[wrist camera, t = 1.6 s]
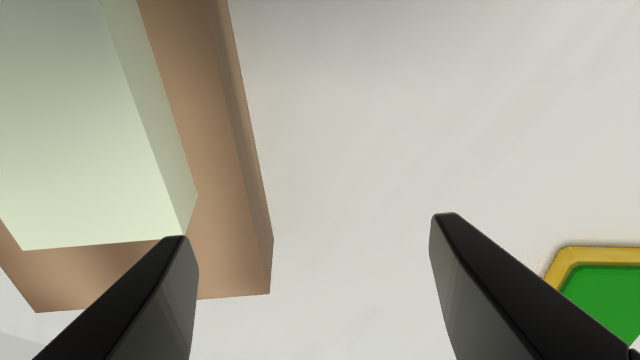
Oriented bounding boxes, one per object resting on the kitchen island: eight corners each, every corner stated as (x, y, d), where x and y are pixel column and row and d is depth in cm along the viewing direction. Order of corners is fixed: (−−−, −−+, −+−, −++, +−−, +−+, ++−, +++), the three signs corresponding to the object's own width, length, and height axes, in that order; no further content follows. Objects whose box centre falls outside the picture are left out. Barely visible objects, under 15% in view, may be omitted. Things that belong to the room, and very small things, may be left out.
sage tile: (120, -51, 12) (83, -38, 10) (198, 195, 17) (184, 237, 15) (-83, -31, 12) (-161, -14, 10) (55, 207, 17) (22, 250, 15)
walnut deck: (159, -341, 11) (102, -433, 8) (273, 238, 24) (269, 293, 21) (-263, -296, 12) (-485, -368, 8) (71, 256, 24) (35, 313, 21)
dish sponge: (665, 243, 26) (694, 272, 24) (574, 365, 34) (591, 394, 32) (557, 241, 26) (579, 270, 24) (491, 364, 34) (503, 394, 32)
